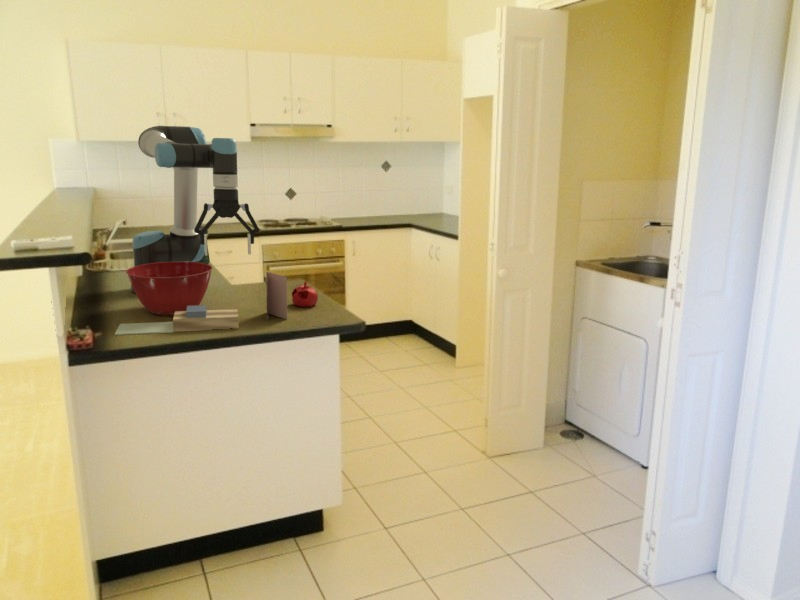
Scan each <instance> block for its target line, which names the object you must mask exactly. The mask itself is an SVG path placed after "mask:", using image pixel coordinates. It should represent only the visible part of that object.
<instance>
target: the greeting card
mask: <svg viewBox="0 0 800 600" xmlns="http://www.w3.org/2000/svg"><path fill="white" fill-rule="evenodd" d="M265 275H266V276H263V277H264V279H265V284H266V287H265V288H266V316H267V318H269V314H270V315H272V316H276V317H279V318H282V319H285V320H288V277H287V276H285V275H281V274H276V273H274V272H269V271H266V272H265Z"/></svg>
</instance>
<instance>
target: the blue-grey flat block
mask: <svg viewBox="0 0 800 600" xmlns="http://www.w3.org/2000/svg"><path fill="white" fill-rule="evenodd" d="M207 310H208V309H207V305H206V304H203V305H201V304H200V305H196V306H187V310H186V318H202V317H206V312H207Z"/></svg>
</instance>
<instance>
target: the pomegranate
mask: <svg viewBox="0 0 800 600" xmlns="http://www.w3.org/2000/svg"><path fill="white" fill-rule="evenodd" d="M303 283H304V284H299V285H297V286H295V288H294V289H293V290H292V292H291V300H292V304H293V305H294V306H296V307H301V308H307V307H308V308H310V307H313V305H314V306H315V305H317V303H318V301H319V296H318V293H317V291H316V290H315V288H312V287H315V285H308V284H307V283H308V282H307V281H306V280H305V281H304V282H303Z"/></svg>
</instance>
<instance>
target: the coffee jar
mask: <svg viewBox="0 0 800 600" xmlns="http://www.w3.org/2000/svg"><path fill="white" fill-rule="evenodd" d="M204 226H205V225H201V227H200V230H202V229H203V227H204ZM208 230H209V229H208ZM208 230H207V231H206V232H205V233H204V234H207V239H208V237H209V231H208ZM208 246H209V245H208V244H207V255H205V251H204V255H203V257H202V259H201V260H199V261H195V262H197V263H204V264H208V265H209V264H210V263H211V261H210V254H209V248H208Z"/></svg>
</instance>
